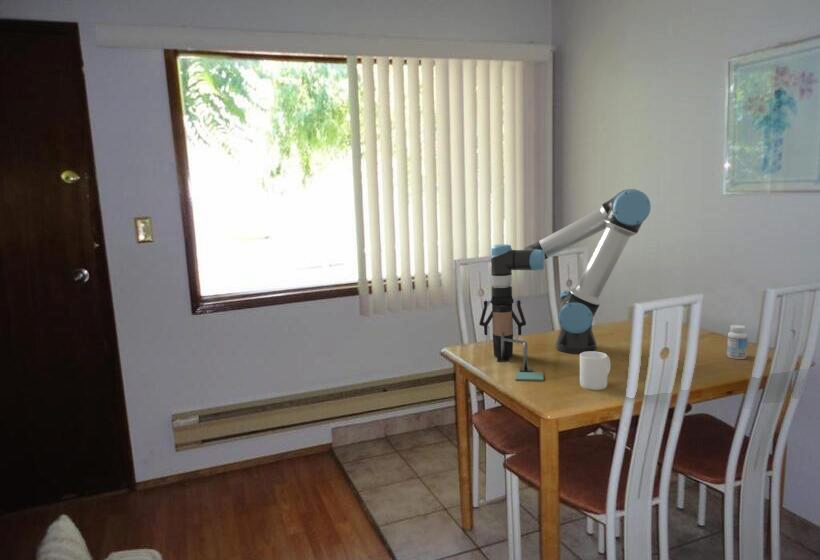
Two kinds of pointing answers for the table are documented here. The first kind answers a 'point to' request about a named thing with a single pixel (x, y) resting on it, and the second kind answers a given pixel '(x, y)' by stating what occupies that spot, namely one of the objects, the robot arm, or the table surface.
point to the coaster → (529, 376)
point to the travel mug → (502, 329)
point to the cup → (594, 370)
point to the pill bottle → (737, 342)
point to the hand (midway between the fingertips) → (502, 343)
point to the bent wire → (505, 359)
